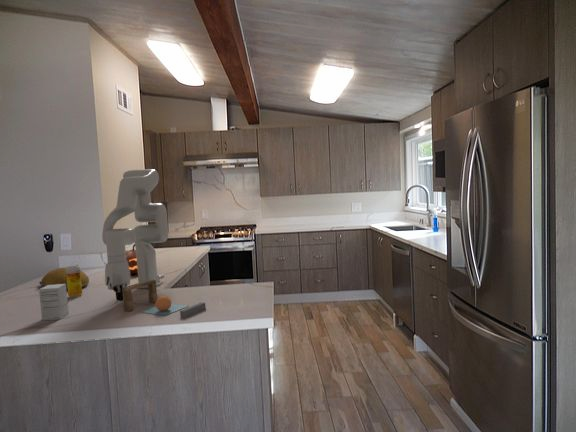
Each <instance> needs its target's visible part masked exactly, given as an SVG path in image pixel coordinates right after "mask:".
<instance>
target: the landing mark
mask: <svg viewBox="0 0 576 432" xmlns="http://www.w3.org/2000/svg"><path fill="white" fill-rule="evenodd" d="M189 307H190V306H189V305H184V304H183V305H182V304H174V303H171V307H170V308H169V309H168V310H167V311H159V310H158V309H157V308H156V306H155V307H151V308H148V309H147V310H146V309H145V310H143V311H141V313H142V314H150V315H156V316H163V317H165V316H168V315H171V314H173V313H176V312H179V311H181V310H184V309H186V308H189Z"/></svg>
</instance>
